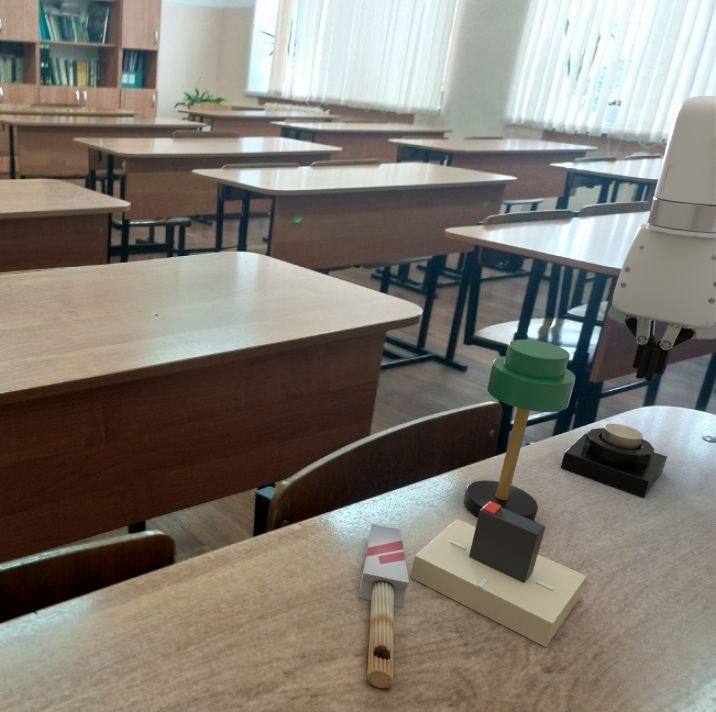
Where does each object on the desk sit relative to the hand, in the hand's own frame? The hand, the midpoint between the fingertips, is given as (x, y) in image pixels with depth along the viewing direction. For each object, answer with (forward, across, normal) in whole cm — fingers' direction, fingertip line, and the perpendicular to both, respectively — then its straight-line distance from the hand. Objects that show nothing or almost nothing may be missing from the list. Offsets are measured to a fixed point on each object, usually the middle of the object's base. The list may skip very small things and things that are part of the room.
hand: (646, 376), depth 85 cm
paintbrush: (+12, +8, +44) cm, 46 cm away
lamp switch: (+12, +1, 0) cm, 13 cm away
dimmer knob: (+10, +2, +34) cm, 36 cm away
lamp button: (+9, +1, 0) cm, 9 cm away
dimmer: (+12, +2, +34) cm, 36 cm away
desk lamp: (+12, +7, +20) cm, 25 cm away
